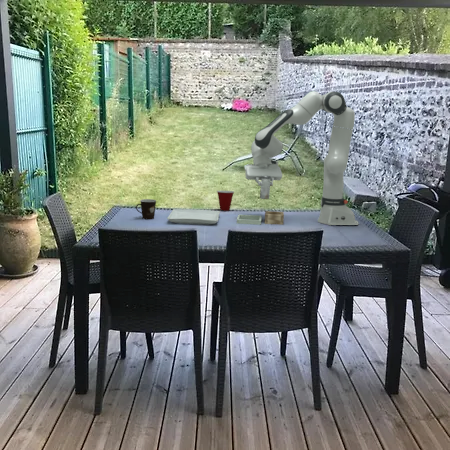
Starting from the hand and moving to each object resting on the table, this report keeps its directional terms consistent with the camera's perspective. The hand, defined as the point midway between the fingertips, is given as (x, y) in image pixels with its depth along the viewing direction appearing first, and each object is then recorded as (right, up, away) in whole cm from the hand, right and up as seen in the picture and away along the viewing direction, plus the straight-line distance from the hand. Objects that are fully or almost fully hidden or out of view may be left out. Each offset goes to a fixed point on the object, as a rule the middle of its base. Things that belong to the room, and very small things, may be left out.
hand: (265, 185), depth 273 cm
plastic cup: (-22, -12, +39) cm, 47 cm away
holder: (+5, -21, +5) cm, 22 cm away
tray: (-9, -20, +5) cm, 23 cm away
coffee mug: (-66, -18, +8) cm, 69 cm away
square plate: (-39, -19, +9) cm, 44 cm away
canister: (-1, -7, +2) cm, 7 cm away
